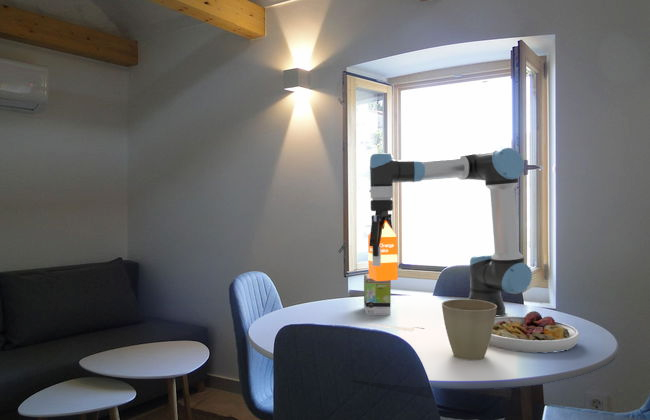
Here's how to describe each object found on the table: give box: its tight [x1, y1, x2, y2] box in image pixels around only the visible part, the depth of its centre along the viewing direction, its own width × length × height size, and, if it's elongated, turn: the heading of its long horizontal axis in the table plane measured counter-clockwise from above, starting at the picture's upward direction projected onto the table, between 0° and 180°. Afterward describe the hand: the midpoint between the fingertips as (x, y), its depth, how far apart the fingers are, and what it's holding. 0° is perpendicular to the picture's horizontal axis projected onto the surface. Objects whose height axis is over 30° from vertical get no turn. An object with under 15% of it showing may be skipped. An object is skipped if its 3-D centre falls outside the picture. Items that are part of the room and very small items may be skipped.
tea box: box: [363, 273, 392, 316], centre depth 208 cm, size 15×10×15 cm
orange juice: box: [367, 220, 399, 281], centre depth 175 cm, size 8×9×20 cm
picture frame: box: [367, 323, 425, 332], centre depth 175 cm, size 24×18×1 cm
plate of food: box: [489, 311, 580, 353], centre depth 161 cm, size 30×30×8 cm
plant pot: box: [441, 298, 497, 361], centre depth 144 cm, size 15×15×16 cm
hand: (382, 263), depth 175 cm, fingers closed on orange juice, 11 cm apart
